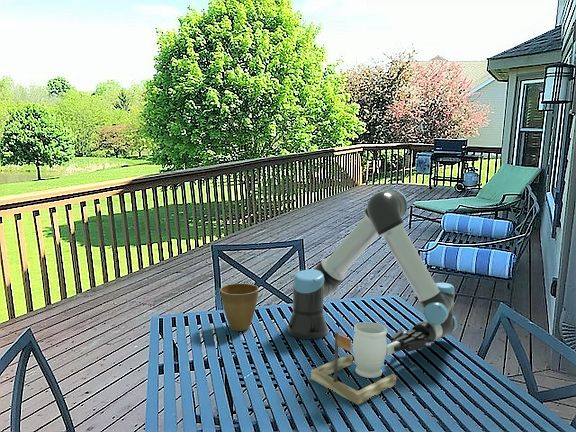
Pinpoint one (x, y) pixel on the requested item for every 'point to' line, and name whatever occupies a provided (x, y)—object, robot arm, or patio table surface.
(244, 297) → the plant pot
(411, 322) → the patio table surface
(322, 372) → the box
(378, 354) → the jar
